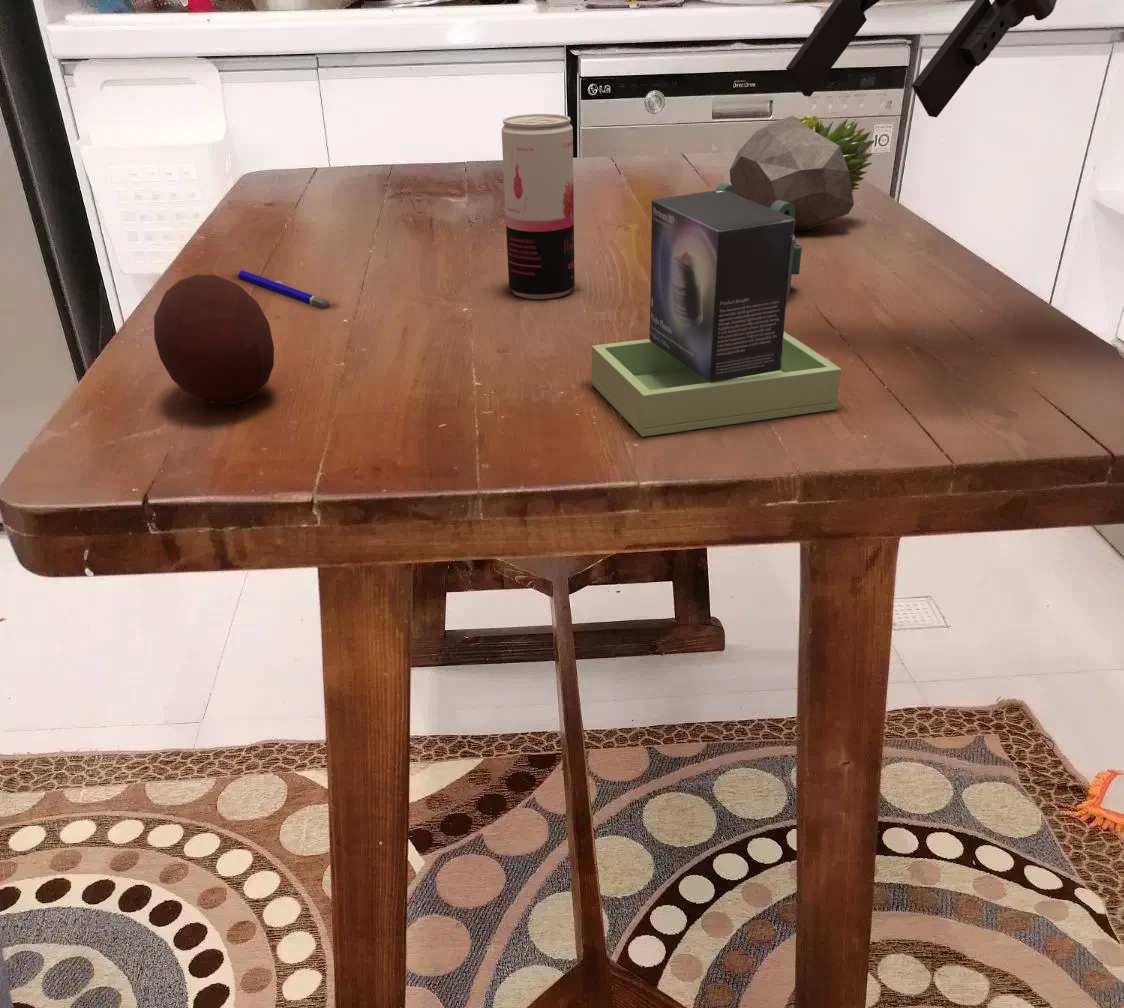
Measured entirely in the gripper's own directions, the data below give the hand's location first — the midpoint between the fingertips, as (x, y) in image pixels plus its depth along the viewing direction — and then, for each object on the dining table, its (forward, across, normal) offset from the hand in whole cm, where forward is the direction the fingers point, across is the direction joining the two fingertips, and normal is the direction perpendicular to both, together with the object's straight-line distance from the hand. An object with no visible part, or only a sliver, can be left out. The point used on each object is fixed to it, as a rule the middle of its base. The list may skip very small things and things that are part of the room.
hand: (856, 92), depth 77 cm
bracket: (+8, +22, -20) cm, 31 cm away
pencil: (+36, +47, +9) cm, 60 cm away
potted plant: (-7, +42, -34) cm, 55 cm away
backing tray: (+22, 0, -6) cm, 22 cm away
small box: (+20, 0, -4) cm, 20 cm away
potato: (+45, +19, +17) cm, 52 cm away
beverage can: (+20, +34, -7) cm, 40 cm away
